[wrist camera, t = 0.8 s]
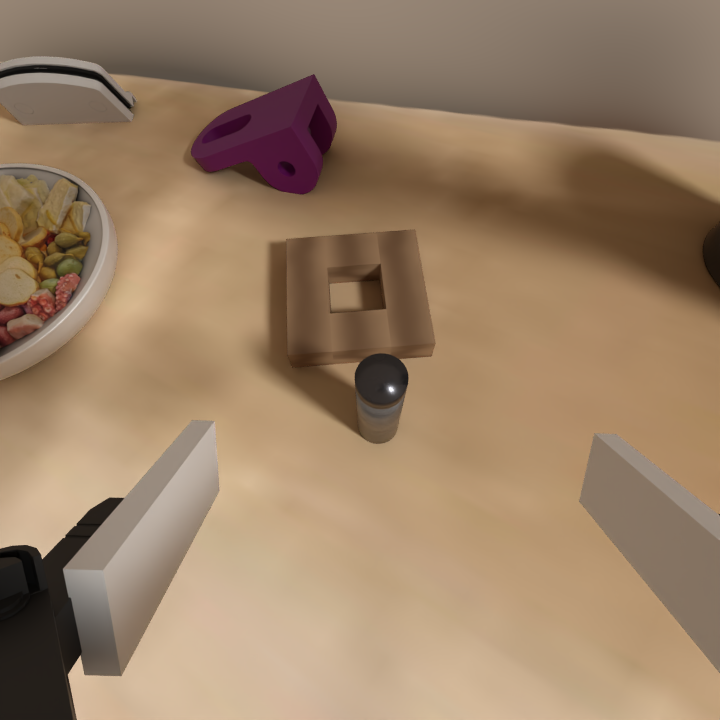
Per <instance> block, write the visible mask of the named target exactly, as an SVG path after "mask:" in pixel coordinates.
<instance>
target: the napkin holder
mask: <svg viewBox="0 0 720 720" xmlns="http://www.w3.org/2000/svg"><path fill="white" fill-rule="evenodd" d="M133 102H137V99H136V98H135V97H134V95H133V94H132V93H131V92H125V91H124V90H123V89H122V88H121V87H120V86H119V85H118V84H117V83H116V81H115V80H114V79H113V78H112V77H111V76H110V75H109V74H108V73H107V72H106V71H105V70H104V69H103V68H102V67H101V66H99V65H97V64H95V63H90V62H86V61H81V60H76V59H69V58H60V57H41V56H40V57H24V58H18V59H13V60H9V61H6V62H3V63H0V103H1V104H2V105H3V106H4V107H5V108H6V109H7V110H8V111H9V112H10V113H11V114H12V115H13V116H14V117H15V118H16V119H17V120H18V121H19V122H20V123H21V124H22V125H44V124H74V123H104V122H131V121H132V120H133V116H134V115H133V114H132V113H131V111H130V110H129V109H128V108H131V107H134V104H133Z"/></svg>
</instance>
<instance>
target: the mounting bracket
mask: <svg viewBox="0 0 720 720" xmlns="http://www.w3.org/2000/svg"><path fill="white" fill-rule="evenodd" d="M336 129H337V121H336V116H335V113H334V111H333V109H332V107H331V105H330V103H329V101H328V100H327V98H326V96H325V94H324V92H323V90H322V88H321V86H320V84H319V82H318V81H317V79H316V77H315V75H314V74H313V75H311V76H308V77H306V78H304V79H301V80H299V81H297V82H294V83H292V84H289V85H287V86H285V87H282V88H280V89H278V90H275V91H273V92H270V93H268V94H265V95H263V96H261V97H258V98H256V99H254V100H251V101H249V102H246V103H244V104H242V105H239V106H237V107H234V108H232V109H230V110H228V111H226V112H224V113H223V114H221V115H220V116H218V117H217V118H216V119H214V120H213V121H212V122H211V123H210V124H209V125H208V126H207V127H206V128H205V129H204V130H203V131H202V132H201V133H200V134H199V136H198V137H197V139H196V140H195V142H194V144H193V146H192V149H191V155H192V156H193V157H194V159H195V160H196V161H197V162H198V163H199V164H200V165H201V167H202V168H203V169H204V170H205V171H208V172H213V171H217V170H220V169H223V168H226V167H229V166H232V165H236V164H239V163H242V162H245V161H248V162H250V163H252V164H253V165H254V166H255V168H256V169H257V170H258V172H259V173H260V174H261V176H262V177H263V178H264V179H265V180H266V181H267V182H268V183H269V184H270V185H272V186H273V187H274V188H276V189H278V190H280V191H283V192H289V193H295V194H305V193H308V192H310V191H311V190H312V189H313V188H314V187H315V186H316V184H317V181H318V178H319V176H320V173H321V170H322V167H323V159H322V155H323V154H324V153H326V152H327V151H328V149H329V148H330V146H331V143H332V141H333V138H334V135H335V133H336Z"/></svg>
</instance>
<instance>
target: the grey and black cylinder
mask: <svg viewBox="0 0 720 720" xmlns="http://www.w3.org/2000/svg"><path fill="white" fill-rule="evenodd" d="M407 385H408V372H407V369H406V367H405V365H404V364H403V363H402V362H401V361H400V360H399V359H398V358H396V357H394V356H392V355H390V354H385V353H378V354H373V355H370V356H368V357H366V358H365V359H363V360H362V361H361V362H360V364H359V365H358V367H357V369H356V372H355V389H356V404H357V419H358V429H359V432H360V434H361V435H362V437H363V438H364V439H366V440H367V441H369V442H371V443H375V444H381V443H385V442H387V441H389V440H390V439H392V438H393V437H394V435H395V434H396V431H397V428H398V424H399V419H400V415H401V411H402V406H403V402H404V398H405V393H406V389H407Z"/></svg>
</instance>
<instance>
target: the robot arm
mask: <svg viewBox="0 0 720 720" xmlns="http://www.w3.org/2000/svg"><path fill="white" fill-rule="evenodd" d="M703 254H704V260H705V263H706V266H707V268H708V270H709V272H710V274H711V275H712V277H713V278H714V280H715V281H716V282H717V283H718V284H719V286H720V222H719V223H718V224H717V225H716V226H715V227H714V228H713V229H712V230H711V231H710V232H709V233H708V235H707V237H706V239H705V241H704V246H703ZM218 493H219V476H218V461H217V447H216V432H215V421H200V420H192V421H191V422H190V423H189V425H188V426H187V427H186V428H185V429H184V430H183V431H182V433H181V434H180V435H179V436H178V437H177V438H176V440H175V441H174V442H173V443H172V444H171V445H170V446H169V448H168V449H167V450H166V451H165V452H164V453H163V454H162V456H161V457H160V458H159V459H158V460H157V461H156V463H155V464H154V465H153V466H152V467H151V468H150V469H149V471H148V472H147V473H146V474H145V475H144V476H143V477H142V479H141V480H140V481H139V482H138V483H137V484H136V486H135V487H134V488H133V489H132V490H131V491H130V492H129V494H128V495H127V496H126V497H125V498H108V499H106V500H105V501H103V502H102V503H100V504H98V505H97V506H95V507H93V508H92V509H90V510H89V511H88V512H87V513H86V514H85V516H84V517H83V518H82V519H81V520H80V521H79V522H78V523H77V526H74V527H73V528H72V529H71V530H70V531H69V532H68V533H67V534H66V537H65V538H63V539H62V540H61V541H60V542H59V543H58V544H57V545H56V546H55V547H54V548H53V549H52V550H51V551H50V552H49V553H48V554H47V555H46V556H45V557H44V558H43V559H42V558H41V554H40V553H39V551H38V550H37V548H34V547H31V546H28V545H18V546H9V547H6V548H2V549H0V720H77V719H76V714H75V709H74V704H73V698H72V693H71V688H70V683H69V679H68V673H69V672H70V670H71V669H72V667H73V665H74V664H75V662H76V661H77V659H78V658H79V656H80V655H81V660H82V664H83V669H84V674H85V675H100V676H122V674H123V672H124V670H125V668H126V666H127V664H128V663H129V661H130V659H131V657H132V655H133V653H134V651H135V649H136V647H137V646H138V644H139V642H140V640H141V638H142V636H143V634H144V632H145V630H146V629H147V627H148V625H149V623H150V621H151V619H152V617H153V615H154V613H155V612H156V610H157V608H158V606H159V604H160V602H161V600H162V598H163V596H164V595H165V593H166V591H167V589H168V587H169V585H170V583H171V581H172V579H173V578H174V576H175V574H176V572H177V570H178V568H179V566H180V564H181V562H182V561H183V559H184V557H185V555H186V553H187V551H188V549H189V547H190V545H191V544H192V542H193V540H194V538H195V536H196V534H197V532H198V530H199V528H200V527H201V525H202V523H203V521H204V519H205V517H206V515H207V513H208V511H209V510H210V508H211V506H212V504H213V502H214V500H215V498H216V496H217V494H218ZM579 502H580V503H581V504H582V505H583V507H584V508H585V509H586V510H587V512H588V513H589V514H590V515H591V516H592V518H593V519H594V520H595V521H596V523H597V524H598V525H599V526H600V527H601V529H602V530H603V531H604V532H605V534H606V535H607V536H608V537H609V538H610V540H611V541H612V542H613V543H614V545H615V546H616V547H617V548H618V549H619V551H620V552H621V553H622V554H623V556H624V557H625V558H626V559H627V560H628V562H629V563H630V564H631V565H632V567H633V568H634V569H635V570H636V571H637V573H638V574H639V575H640V576H641V577H642V579H643V580H644V581H645V582H646V584H647V585H648V586H649V587H650V588H651V590H652V591H653V592H654V593H655V595H656V596H657V597H658V598H659V599H660V601H661V602H662V603H663V604H664V606H665V607H666V608H667V609H668V610H669V612H670V613H671V614H672V615H673V617H674V618H675V619H676V620H677V621H678V623H679V624H680V625H681V626H682V628H683V629H684V630H685V631H686V632H687V634H688V635H689V636H690V637H691V639H692V640H693V641H694V642H695V643H696V645H697V646H698V647H699V648H700V650H701V651H702V652H703V653H704V654H705V656H706V657H707V658H708V659H709V661H710V662H711V663H712V664H713V665H714V667H715V668H716V669H717V670H718V672H719V673H720V514H717V513H716V512H714V511H713V510H712V509H711V508H709V507H708V506H707V505H706V504H704V503H703V502H702V501H700V500H699V499H698V498H697V497H695V496H694V495H693V494H692V493H690V492H689V491H688V490H686V489H685V488H684V487H683V486H681V485H680V484H679V483H678V482H676V481H675V480H674V479H673V478H671V477H670V476H669V475H667V474H666V473H665V472H664V471H662V470H661V469H660V468H659V467H657V466H656V465H655V464H653V463H652V462H651V461H650V460H648V459H647V458H646V457H645V456H643V455H642V454H641V453H639V452H638V451H637V450H636V449H634V448H633V447H632V446H631V445H629V444H628V443H627V442H626V441H624V440H623V439H622V438H620V437H619V436H618V435H617V434H598V433H594V437H593V442H592V446H591V451H590V455H589V460H588V464H587V469H586V473H585V478H584V482H583V487H582V491H581V496H580V500H579Z"/></svg>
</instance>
